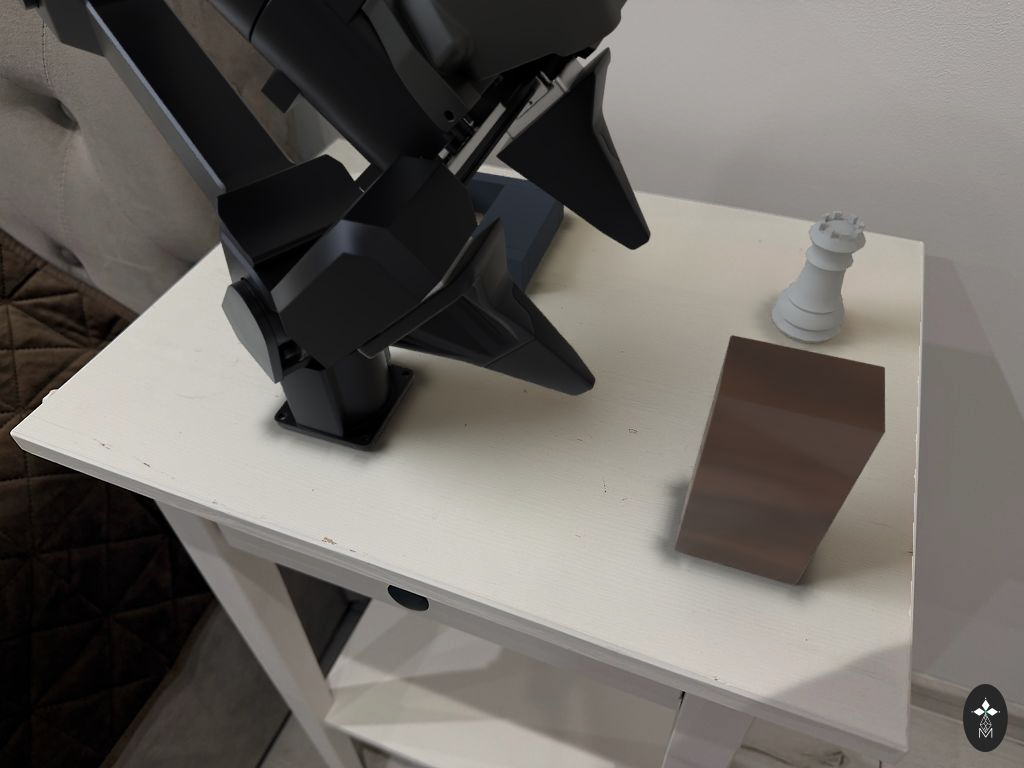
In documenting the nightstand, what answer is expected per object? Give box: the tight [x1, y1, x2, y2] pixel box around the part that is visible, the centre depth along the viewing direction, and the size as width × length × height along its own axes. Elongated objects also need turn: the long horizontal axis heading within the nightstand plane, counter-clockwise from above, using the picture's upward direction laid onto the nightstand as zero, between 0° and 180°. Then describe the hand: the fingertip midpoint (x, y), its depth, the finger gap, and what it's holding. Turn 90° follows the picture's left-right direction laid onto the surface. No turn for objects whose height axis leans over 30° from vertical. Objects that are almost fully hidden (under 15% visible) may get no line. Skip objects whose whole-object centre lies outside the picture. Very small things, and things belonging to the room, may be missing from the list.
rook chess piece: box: [771, 210, 867, 344], centre depth 44 cm, size 4×4×8 cm
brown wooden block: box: [673, 334, 886, 586], centre depth 31 cm, size 4×6×12 cm, turn 70°
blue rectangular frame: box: [466, 171, 565, 293], centre depth 53 cm, size 10×14×3 cm
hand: (617, 309), depth 28 cm, fingers open, 9 cm apart
